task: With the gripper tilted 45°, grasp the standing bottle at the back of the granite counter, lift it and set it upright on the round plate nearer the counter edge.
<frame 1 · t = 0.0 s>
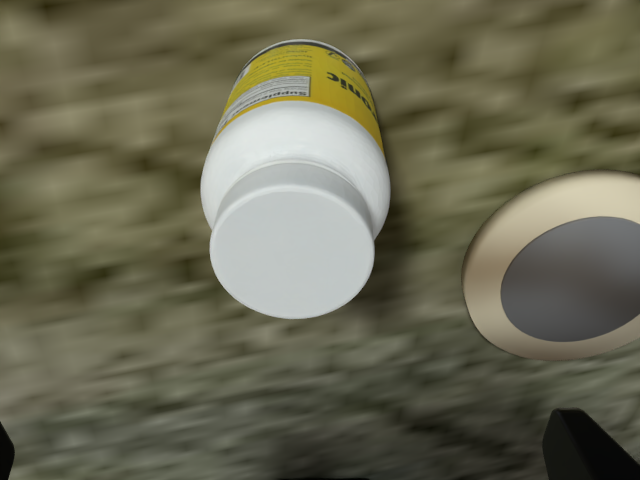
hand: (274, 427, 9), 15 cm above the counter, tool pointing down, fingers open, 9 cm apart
supplement bottle: (303, 104, 21), on the counter
round plate: (570, 266, 26), on the counter
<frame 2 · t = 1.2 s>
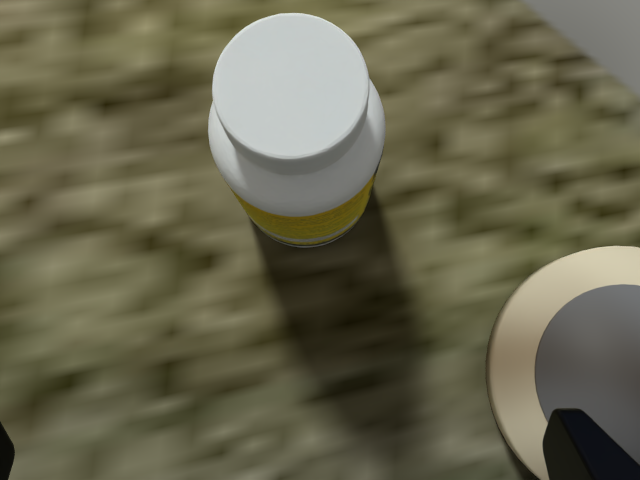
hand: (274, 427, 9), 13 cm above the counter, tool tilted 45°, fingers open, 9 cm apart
supplement bottle: (307, 186, 24), on the counter
round plate: (613, 375, 22), on the counter
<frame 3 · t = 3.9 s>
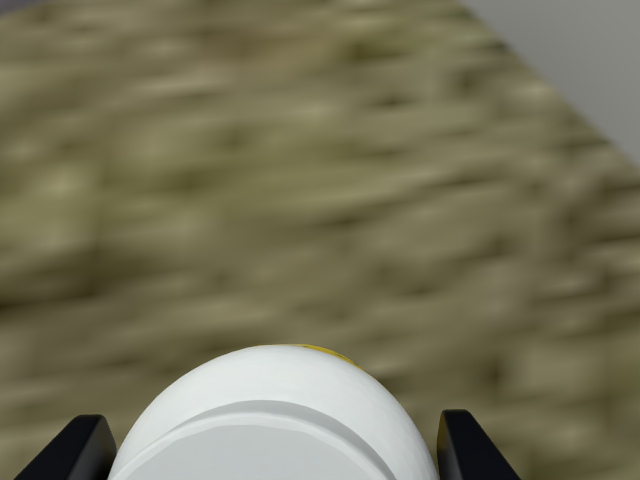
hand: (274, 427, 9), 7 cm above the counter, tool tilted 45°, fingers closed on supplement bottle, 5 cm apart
supplement bottle: (299, 440, 16), on the counter, touching gripper
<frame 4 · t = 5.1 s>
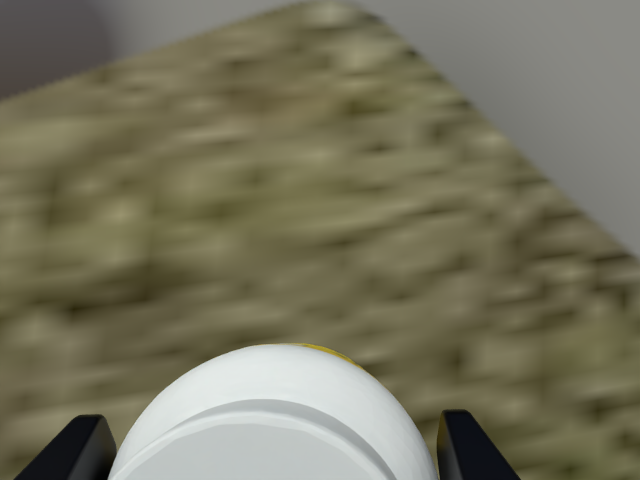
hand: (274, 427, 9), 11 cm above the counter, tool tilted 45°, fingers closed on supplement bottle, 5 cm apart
supplement bottle: (299, 439, 16), point 5 cm above the counter, touching gripper
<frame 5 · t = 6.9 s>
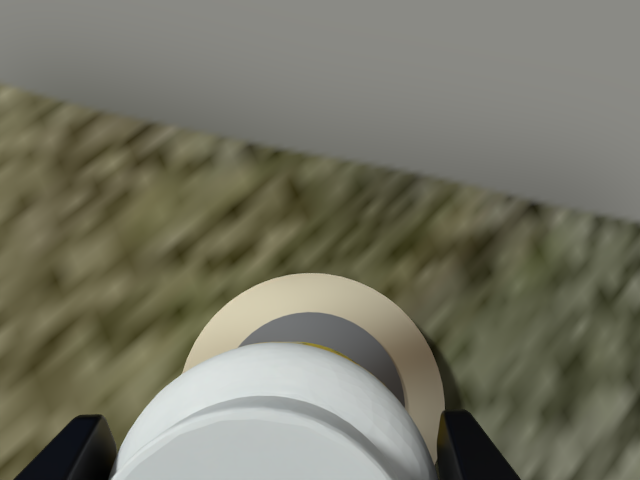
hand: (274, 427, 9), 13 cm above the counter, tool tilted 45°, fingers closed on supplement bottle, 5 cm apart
supplement bottle: (297, 437, 16), point 6 cm above the counter, touching gripper
round plate: (311, 402, 22), on the counter
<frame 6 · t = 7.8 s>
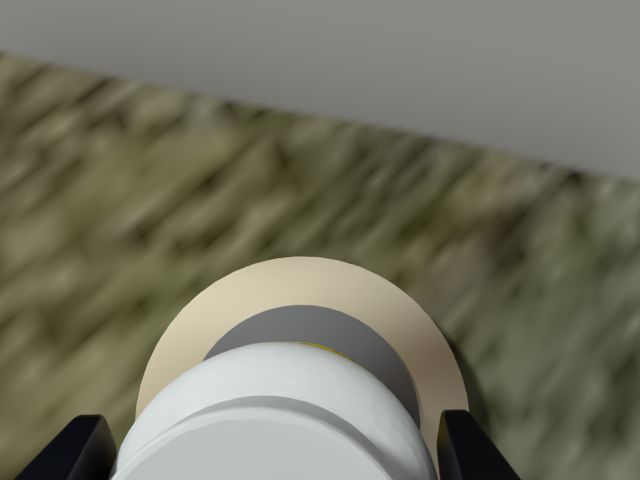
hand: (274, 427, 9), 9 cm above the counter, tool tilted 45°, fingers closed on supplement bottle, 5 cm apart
supplement bottle: (297, 437, 16), point 2 cm above the counter, touching gripper
round plate: (303, 416, 18), on the counter
when the fingers open (9 cm above the counter, at t = 8.3 s): supplement bottle stays where it is, resting on round plate.
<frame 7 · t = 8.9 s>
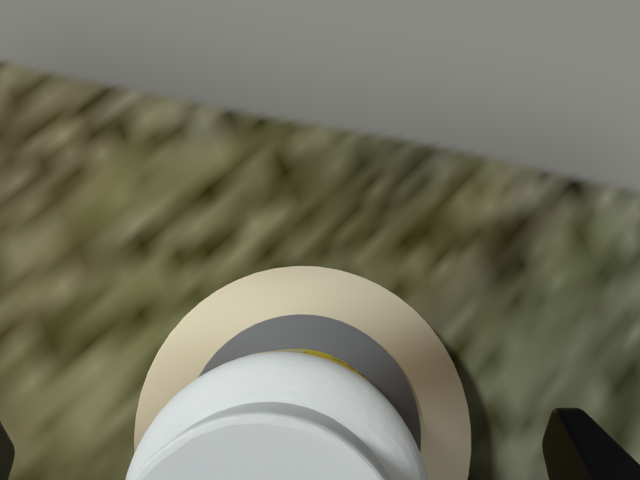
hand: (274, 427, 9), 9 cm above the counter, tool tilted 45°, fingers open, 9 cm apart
supplement bottle: (299, 439, 16), point 1 cm above the counter, touching round plate
round plate: (303, 426, 18), on the counter
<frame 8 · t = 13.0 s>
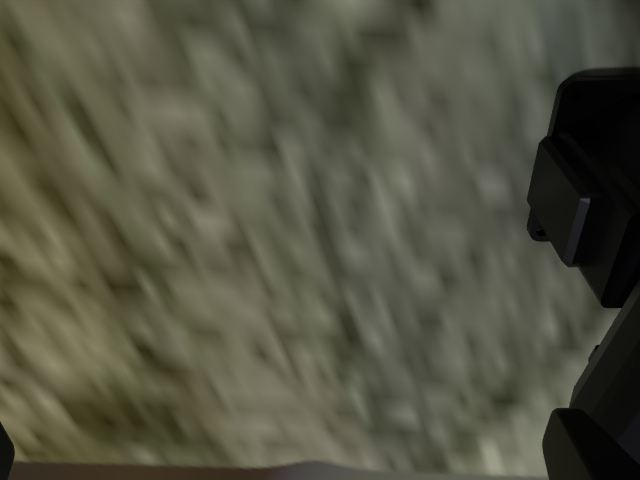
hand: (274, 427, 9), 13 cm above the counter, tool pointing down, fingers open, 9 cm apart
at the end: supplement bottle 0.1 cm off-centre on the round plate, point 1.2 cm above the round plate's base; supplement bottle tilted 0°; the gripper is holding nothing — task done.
